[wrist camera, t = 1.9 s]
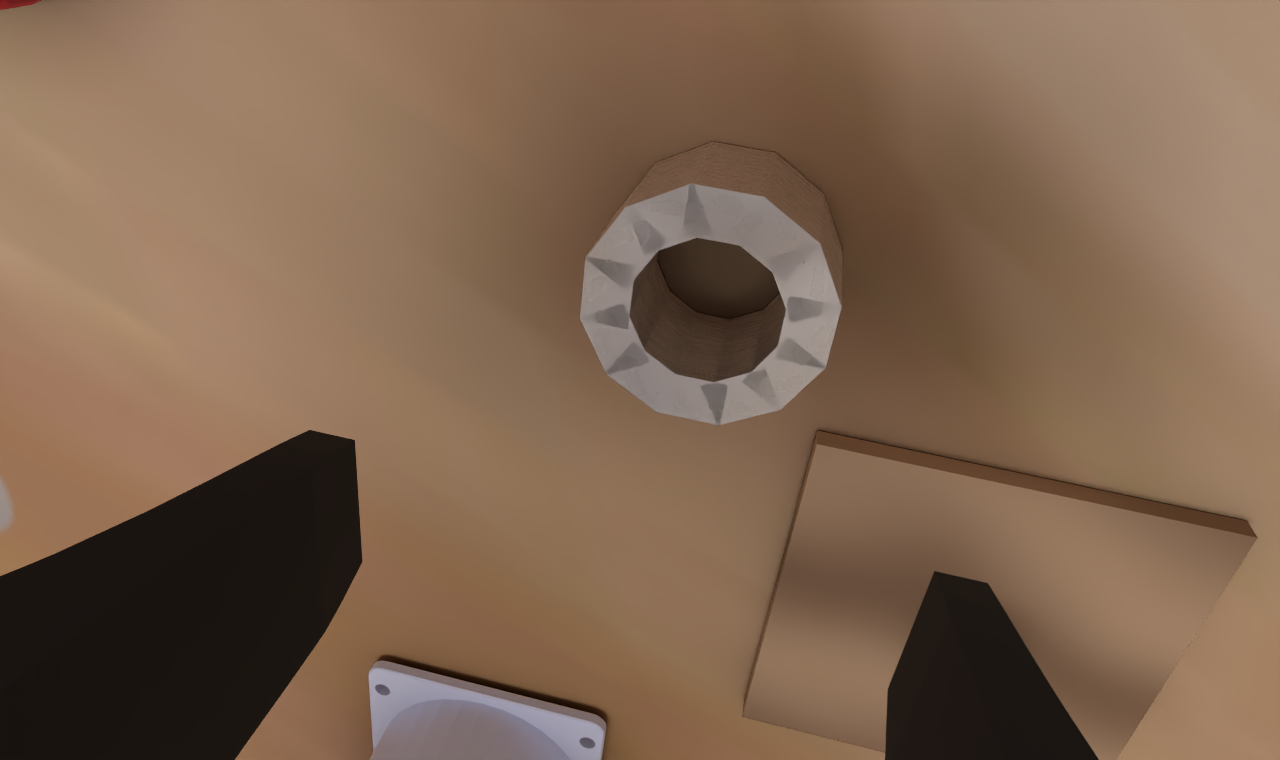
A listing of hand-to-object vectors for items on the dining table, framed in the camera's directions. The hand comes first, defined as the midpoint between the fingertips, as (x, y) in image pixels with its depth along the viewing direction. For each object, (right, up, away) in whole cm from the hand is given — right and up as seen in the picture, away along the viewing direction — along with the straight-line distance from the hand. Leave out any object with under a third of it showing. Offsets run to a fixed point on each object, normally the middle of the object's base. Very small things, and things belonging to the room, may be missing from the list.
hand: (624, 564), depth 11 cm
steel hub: (+2, +5, +9) cm, 10 cm away
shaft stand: (+9, -4, +13) cm, 16 cm away
